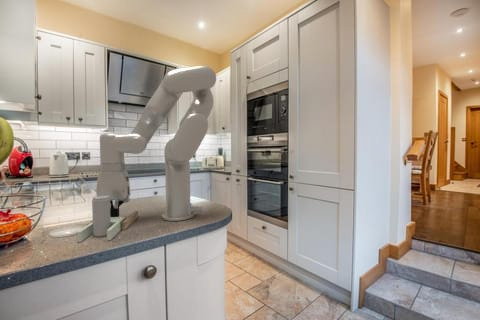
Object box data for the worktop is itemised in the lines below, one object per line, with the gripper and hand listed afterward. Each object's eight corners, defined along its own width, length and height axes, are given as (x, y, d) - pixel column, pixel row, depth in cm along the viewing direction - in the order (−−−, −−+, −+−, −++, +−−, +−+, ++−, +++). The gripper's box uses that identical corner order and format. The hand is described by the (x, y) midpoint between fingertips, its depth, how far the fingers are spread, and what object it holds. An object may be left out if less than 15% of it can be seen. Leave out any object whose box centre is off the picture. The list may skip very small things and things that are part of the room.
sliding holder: (126, 224, 82) (125, 216, 81) (110, 240, 68) (110, 230, 68) (98, 226, 80) (98, 217, 80) (77, 242, 66) (76, 231, 66)
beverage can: (98, 231, 75) (97, 195, 74) (113, 231, 75) (112, 195, 75) (89, 237, 70) (88, 198, 70) (105, 237, 70) (104, 198, 70)
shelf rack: (138, 216, 92) (138, 210, 92) (125, 229, 77) (125, 222, 77) (105, 218, 90) (105, 212, 90) (87, 231, 75) (86, 224, 75)
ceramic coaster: (89, 226, 80) (89, 224, 80) (75, 236, 71) (75, 234, 71) (60, 228, 78) (60, 226, 78) (42, 238, 69) (42, 235, 69)
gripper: (137, 167, 86) (139, 214, 87) (95, 167, 84) (96, 216, 85) (131, 168, 79) (133, 220, 80) (84, 169, 77) (86, 223, 77)
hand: (114, 218), depth 82 cm, fingers closed
